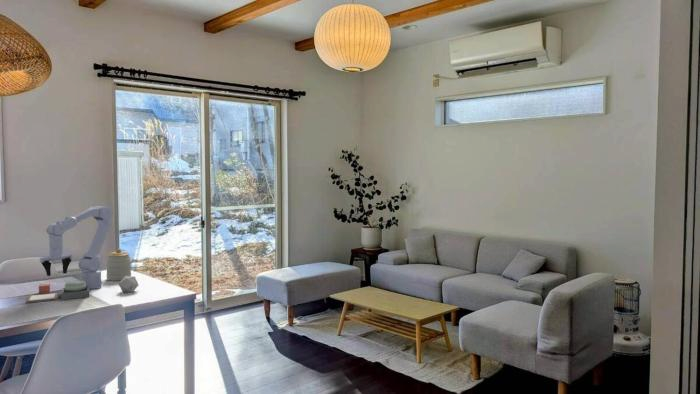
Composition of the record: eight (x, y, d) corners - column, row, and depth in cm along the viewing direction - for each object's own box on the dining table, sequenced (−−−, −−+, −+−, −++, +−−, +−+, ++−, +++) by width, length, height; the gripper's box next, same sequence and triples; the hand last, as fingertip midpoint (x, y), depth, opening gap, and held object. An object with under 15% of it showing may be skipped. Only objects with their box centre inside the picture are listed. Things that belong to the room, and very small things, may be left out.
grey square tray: (89, 291, 249) (89, 285, 249) (89, 296, 238) (89, 290, 238) (62, 293, 243) (62, 288, 243) (61, 299, 232) (61, 293, 232)
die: (125, 295, 243) (138, 279, 246) (112, 286, 245) (125, 270, 247) (132, 297, 251) (144, 282, 254) (119, 288, 252) (131, 273, 255)
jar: (124, 281, 272) (124, 250, 271) (102, 281, 272) (101, 250, 271) (135, 276, 285) (135, 246, 284) (113, 276, 285) (113, 246, 284)
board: (57, 294, 242) (57, 292, 242) (56, 300, 232) (56, 298, 231) (29, 297, 236) (29, 295, 236) (26, 302, 226) (26, 301, 226)
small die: (50, 292, 247) (49, 283, 246) (49, 294, 243) (49, 285, 243) (39, 293, 245) (39, 284, 244) (38, 295, 241) (38, 286, 240)
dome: (86, 286, 247) (86, 279, 246) (86, 289, 239) (85, 283, 238) (65, 287, 242) (65, 281, 242) (64, 291, 234) (64, 285, 234)
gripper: (67, 244, 249) (67, 270, 249) (36, 248, 237) (37, 275, 237) (74, 246, 245) (74, 272, 246) (43, 250, 233) (44, 277, 233)
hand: (56, 274), depth 241 cm, fingers open, 7 cm apart
